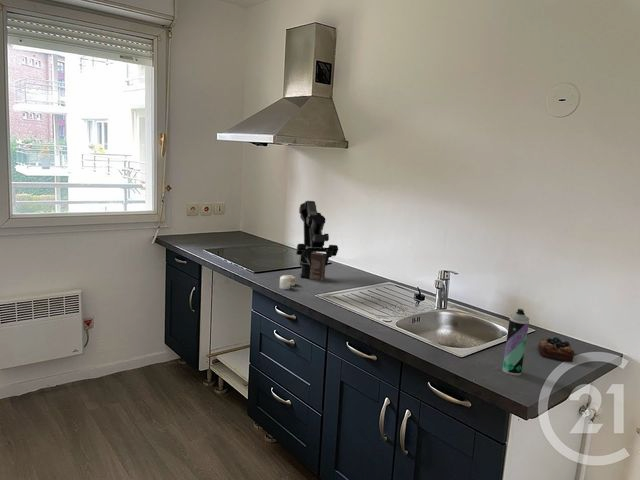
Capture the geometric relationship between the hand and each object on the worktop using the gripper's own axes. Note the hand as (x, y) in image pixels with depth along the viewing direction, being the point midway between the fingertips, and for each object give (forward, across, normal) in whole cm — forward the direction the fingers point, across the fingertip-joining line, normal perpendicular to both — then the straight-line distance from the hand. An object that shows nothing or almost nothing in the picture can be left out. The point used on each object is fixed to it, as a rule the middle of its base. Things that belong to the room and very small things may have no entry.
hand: (318, 265), depth 217 cm
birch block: (-1, -11, +20) cm, 23 cm away
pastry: (+58, +72, -40) cm, 100 cm away
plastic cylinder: (+3, -14, +16) cm, 21 cm away
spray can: (+66, +47, -49) cm, 95 cm away
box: (+4, 0, +6) cm, 7 cm away
